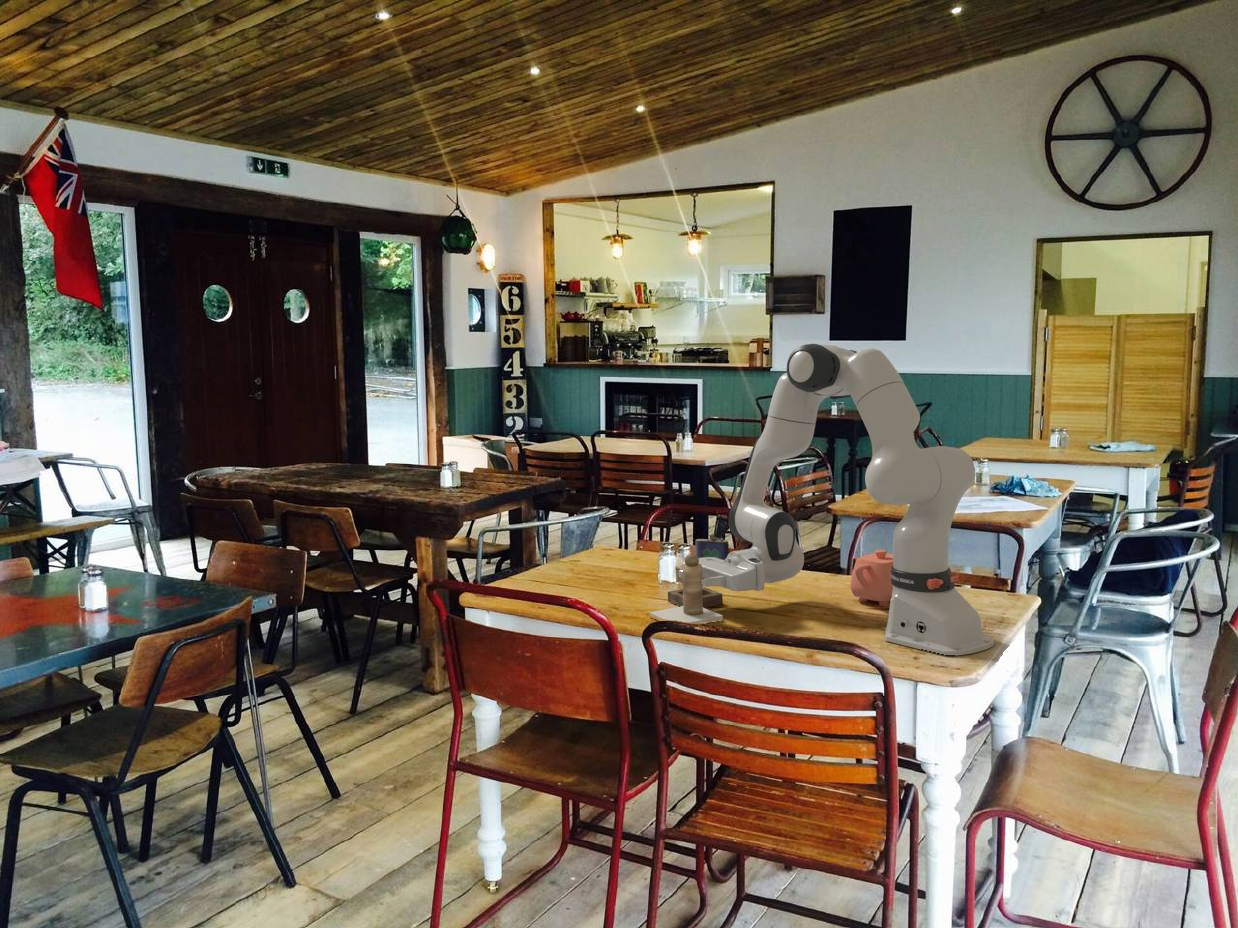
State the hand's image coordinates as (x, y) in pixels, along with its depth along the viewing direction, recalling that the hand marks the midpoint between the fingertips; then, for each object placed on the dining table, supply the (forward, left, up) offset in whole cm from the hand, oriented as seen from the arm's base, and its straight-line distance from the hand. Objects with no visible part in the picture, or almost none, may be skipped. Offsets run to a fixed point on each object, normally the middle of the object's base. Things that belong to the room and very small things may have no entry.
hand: (691, 578), depth 232 cm
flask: (+32, -27, -10) cm, 43 cm away
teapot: (-14, -44, -10) cm, 47 cm away
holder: (+10, -7, -9) cm, 15 cm away
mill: (0, 0, -8) cm, 8 cm away
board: (0, +2, -9) cm, 9 cm away
